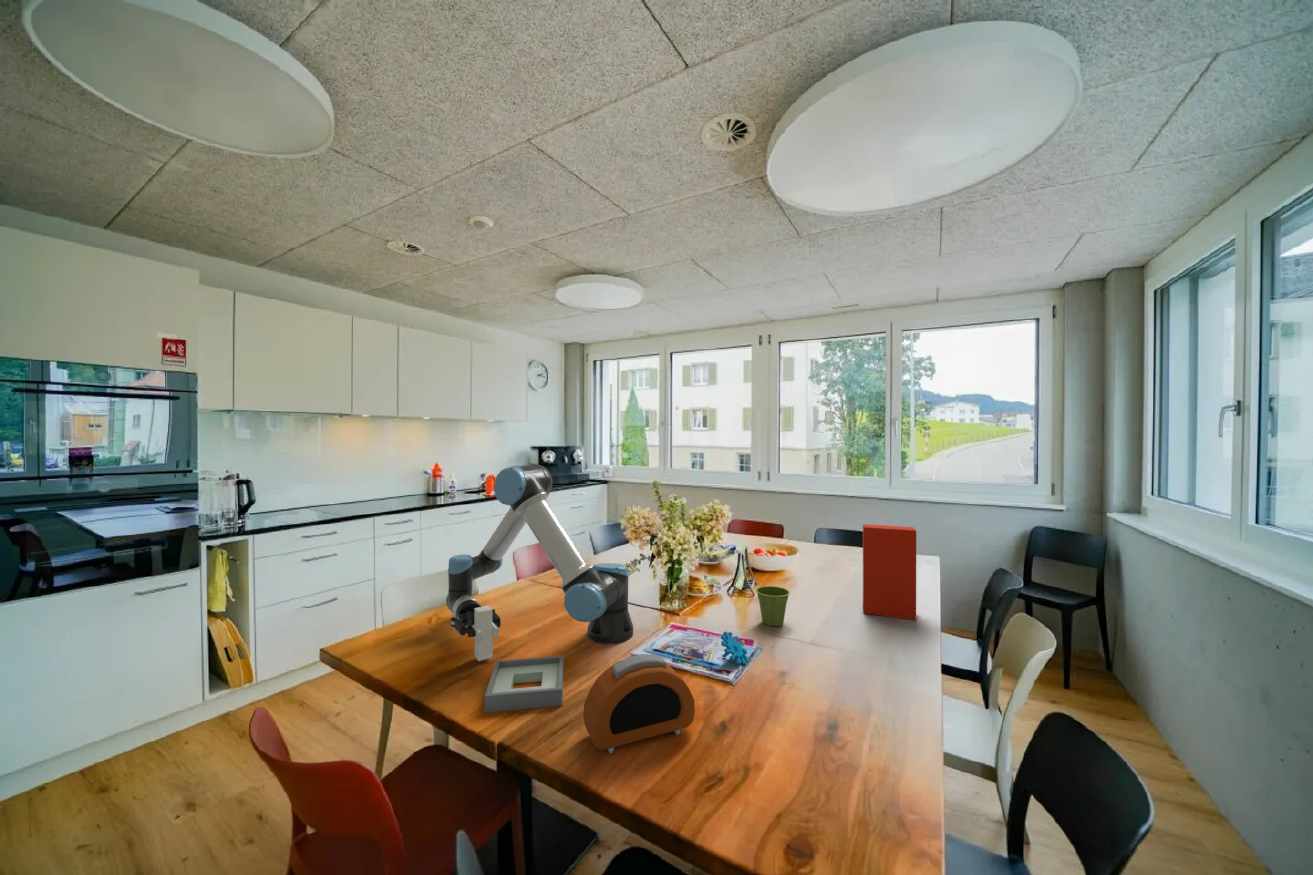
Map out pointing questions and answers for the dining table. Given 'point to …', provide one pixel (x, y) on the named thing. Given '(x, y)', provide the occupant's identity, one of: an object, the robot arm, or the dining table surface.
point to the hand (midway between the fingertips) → (488, 635)
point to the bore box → (523, 671)
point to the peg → (484, 633)
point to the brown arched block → (637, 702)
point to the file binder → (889, 571)
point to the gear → (734, 648)
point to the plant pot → (772, 604)
